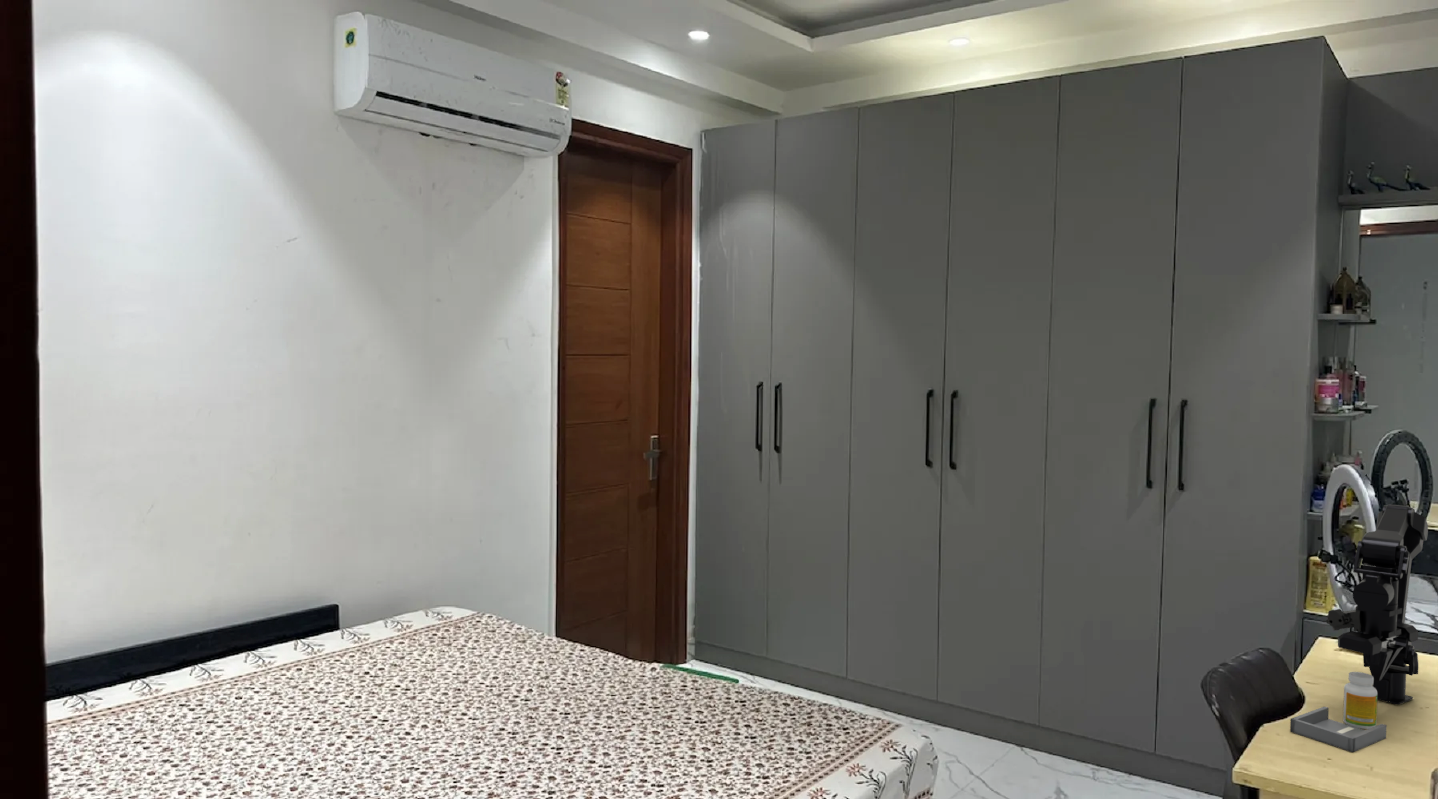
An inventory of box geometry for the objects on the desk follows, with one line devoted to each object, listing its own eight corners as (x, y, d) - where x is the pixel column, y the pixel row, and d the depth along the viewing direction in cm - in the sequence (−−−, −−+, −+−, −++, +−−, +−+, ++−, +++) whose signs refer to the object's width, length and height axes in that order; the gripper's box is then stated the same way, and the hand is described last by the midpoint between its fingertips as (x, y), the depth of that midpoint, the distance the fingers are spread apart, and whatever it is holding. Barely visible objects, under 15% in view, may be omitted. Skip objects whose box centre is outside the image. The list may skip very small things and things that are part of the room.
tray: (1323, 718, 190) (1324, 706, 190) (1386, 738, 181) (1386, 725, 181) (1290, 731, 184) (1290, 718, 184) (1352, 752, 175) (1353, 738, 174)
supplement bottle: (1381, 730, 184) (1383, 680, 184) (1350, 728, 185) (1351, 678, 185) (1368, 720, 190) (1370, 671, 189) (1338, 718, 191) (1339, 669, 190)
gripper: (1359, 586, 201) (1356, 660, 202) (1310, 598, 191) (1308, 676, 192) (1420, 598, 192) (1417, 676, 192) (1372, 611, 182) (1369, 693, 183)
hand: (1376, 680), depth 190 cm, fingers closed
